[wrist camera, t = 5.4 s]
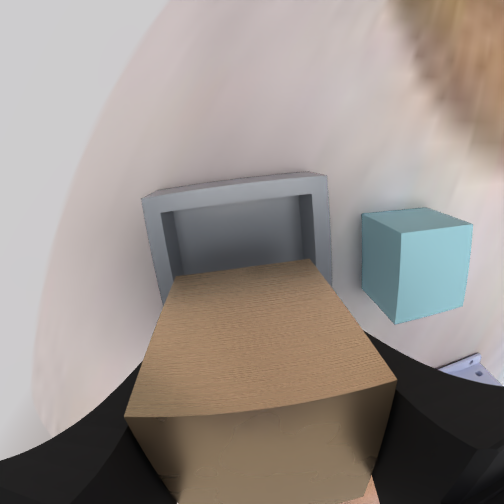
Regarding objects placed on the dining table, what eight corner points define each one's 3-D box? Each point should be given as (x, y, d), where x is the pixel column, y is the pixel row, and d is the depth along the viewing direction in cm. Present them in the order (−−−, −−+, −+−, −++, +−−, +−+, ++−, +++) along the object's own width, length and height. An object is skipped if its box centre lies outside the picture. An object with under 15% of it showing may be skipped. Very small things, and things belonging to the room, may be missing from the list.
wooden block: (309, 258, 12) (397, 379, 5) (313, 364, 13) (363, 496, 6) (176, 276, 11) (123, 416, 5) (201, 379, 13) (191, 520, 6)
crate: (308, 171, 17) (327, 175, 14) (316, 307, 20) (331, 335, 16) (157, 190, 17) (141, 198, 14) (184, 324, 20) (176, 355, 16)
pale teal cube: (425, 207, 18) (472, 224, 14) (421, 276, 20) (462, 306, 15) (361, 213, 18) (401, 233, 14) (361, 287, 20) (394, 324, 15)
